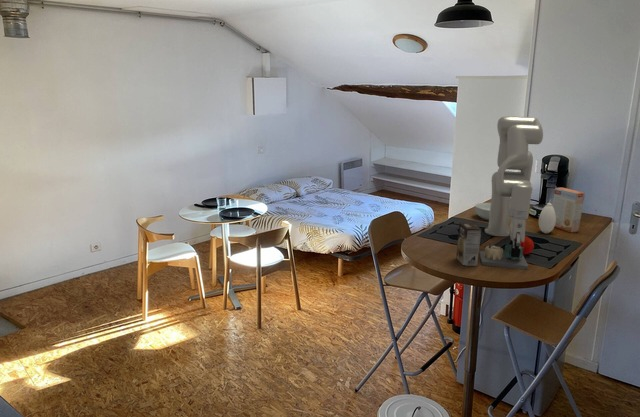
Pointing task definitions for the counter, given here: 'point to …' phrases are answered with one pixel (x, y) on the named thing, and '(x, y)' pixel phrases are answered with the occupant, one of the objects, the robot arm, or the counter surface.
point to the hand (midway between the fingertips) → (513, 253)
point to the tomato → (527, 245)
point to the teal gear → (508, 251)
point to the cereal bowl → (483, 210)
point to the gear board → (500, 258)
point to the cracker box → (568, 208)
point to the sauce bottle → (547, 218)
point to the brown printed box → (468, 244)
